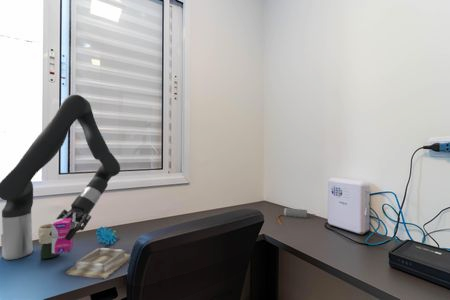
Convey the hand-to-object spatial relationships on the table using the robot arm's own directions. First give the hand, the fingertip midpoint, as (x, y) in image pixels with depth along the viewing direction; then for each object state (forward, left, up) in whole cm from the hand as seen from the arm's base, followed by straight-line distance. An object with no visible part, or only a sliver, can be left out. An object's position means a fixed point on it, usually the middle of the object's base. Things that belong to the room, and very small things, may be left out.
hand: (59, 237), depth 87 cm
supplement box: (0, +1, -6) cm, 6 cm away
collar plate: (+13, +5, -12) cm, 19 cm away
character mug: (-13, +7, -12) cm, 19 cm away
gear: (+2, +23, -12) cm, 26 cm away
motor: (+92, +70, -12) cm, 116 cm away
